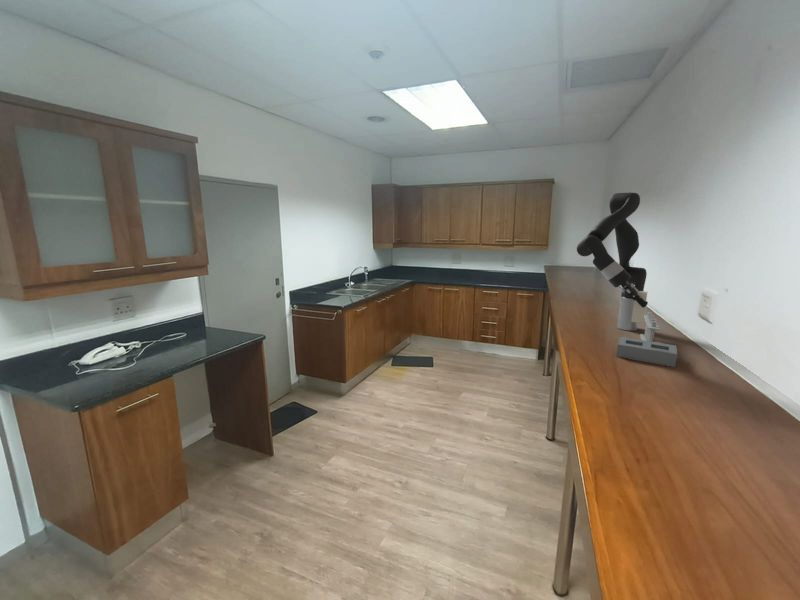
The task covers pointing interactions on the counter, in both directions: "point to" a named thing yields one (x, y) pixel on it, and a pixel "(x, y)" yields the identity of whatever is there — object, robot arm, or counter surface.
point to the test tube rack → (649, 327)
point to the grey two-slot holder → (647, 351)
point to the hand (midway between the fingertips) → (645, 305)
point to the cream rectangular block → (639, 309)
